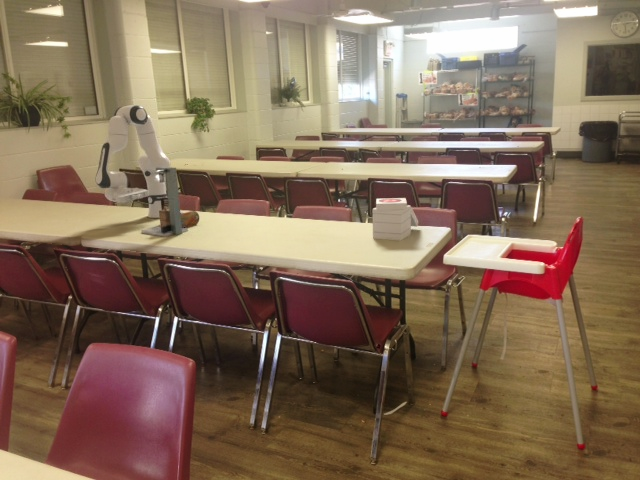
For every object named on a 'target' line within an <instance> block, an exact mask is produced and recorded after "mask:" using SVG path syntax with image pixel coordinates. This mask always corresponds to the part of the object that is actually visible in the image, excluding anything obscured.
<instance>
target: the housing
mask: <svg viewBox="0 0 640 480" xmlns="http://www.w3.org/2000/svg"><path fill="white" fill-rule="evenodd" d="M159 216H160V218H159V223H160V224H159V226H161V227H163V226H167V225H171V221H170V211H169V209H167V207H166V206H165V207H164V210H160V211H159Z"/></svg>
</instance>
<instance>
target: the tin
mask: <svg viewBox="0 0 640 480" xmlns="http://www.w3.org/2000/svg"><path fill="white" fill-rule="evenodd" d="M199 221H200V215H199V212H197V211H196V210H190V211H186V212H183V213H181V224H182V227H183V228H184V227H186V228H188V226H190V227H194V226H196V225H198V223H199ZM193 225H194V226H193Z"/></svg>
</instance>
